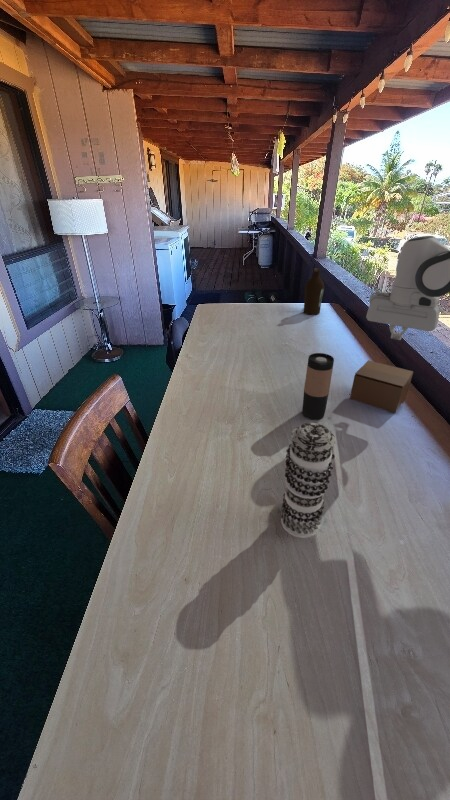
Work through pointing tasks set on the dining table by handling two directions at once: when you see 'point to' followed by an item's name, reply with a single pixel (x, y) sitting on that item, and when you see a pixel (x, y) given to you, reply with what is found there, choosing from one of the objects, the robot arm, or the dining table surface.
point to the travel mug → (317, 385)
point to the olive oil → (313, 294)
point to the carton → (379, 389)
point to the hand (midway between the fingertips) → (395, 338)
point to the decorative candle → (306, 478)
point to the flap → (388, 369)
